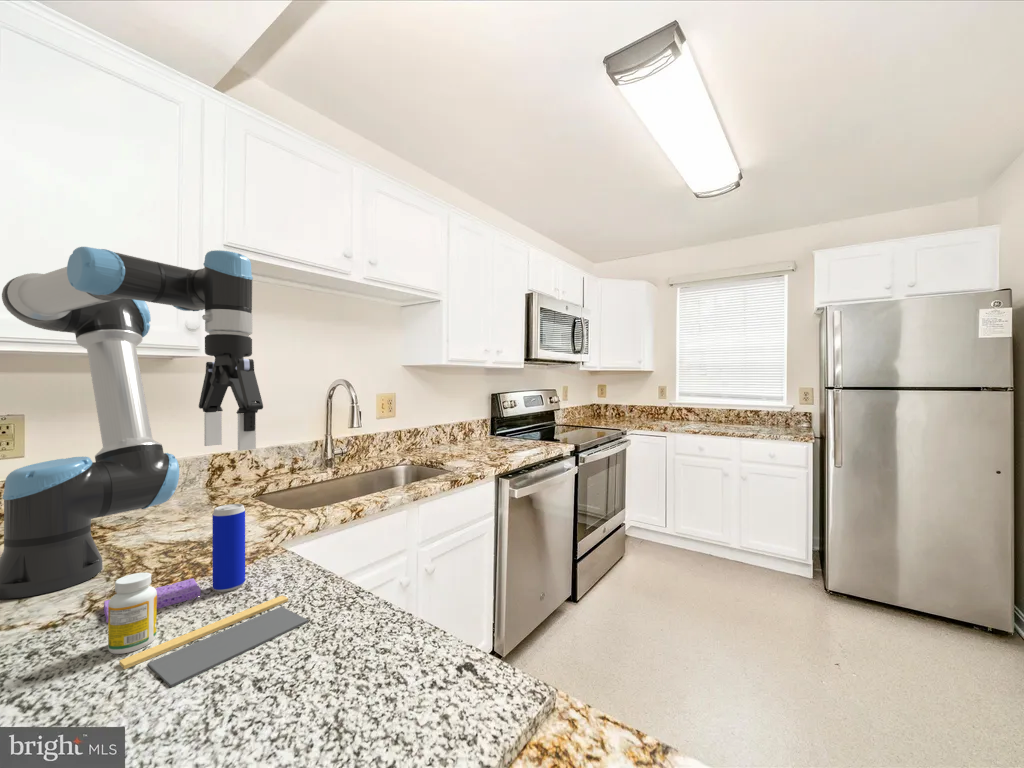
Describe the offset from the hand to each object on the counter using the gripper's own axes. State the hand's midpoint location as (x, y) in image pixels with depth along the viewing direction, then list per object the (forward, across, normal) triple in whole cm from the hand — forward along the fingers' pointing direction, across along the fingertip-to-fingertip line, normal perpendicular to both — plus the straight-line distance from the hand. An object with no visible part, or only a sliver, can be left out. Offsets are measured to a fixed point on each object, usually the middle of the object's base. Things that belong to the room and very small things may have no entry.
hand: (229, 447), depth 82 cm
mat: (+26, +20, -8) cm, 34 cm away
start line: (+26, +14, -8) cm, 31 cm away
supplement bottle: (+26, +8, -16) cm, 32 cm away
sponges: (+27, -5, -10) cm, 29 cm away
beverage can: (+26, 0, 0) cm, 26 cm away
